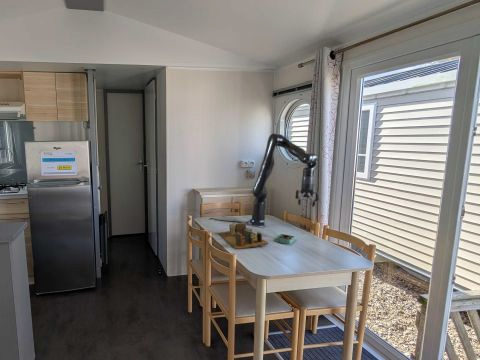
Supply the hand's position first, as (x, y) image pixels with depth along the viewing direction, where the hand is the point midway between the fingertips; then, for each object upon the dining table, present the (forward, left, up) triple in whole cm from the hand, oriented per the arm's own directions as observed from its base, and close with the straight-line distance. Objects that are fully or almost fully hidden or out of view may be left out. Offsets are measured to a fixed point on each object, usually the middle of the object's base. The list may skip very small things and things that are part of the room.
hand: (306, 205), depth 206 cm
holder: (-9, -12, -24) cm, 28 cm away
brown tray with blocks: (-32, -30, -24) cm, 50 cm away
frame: (-9, -12, -24) cm, 28 cm away
